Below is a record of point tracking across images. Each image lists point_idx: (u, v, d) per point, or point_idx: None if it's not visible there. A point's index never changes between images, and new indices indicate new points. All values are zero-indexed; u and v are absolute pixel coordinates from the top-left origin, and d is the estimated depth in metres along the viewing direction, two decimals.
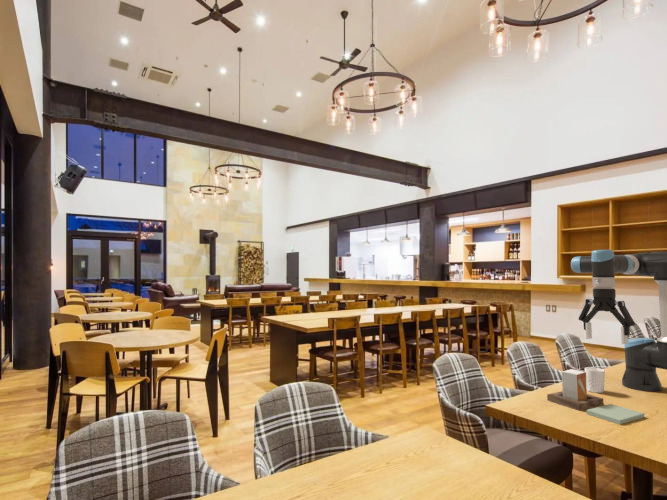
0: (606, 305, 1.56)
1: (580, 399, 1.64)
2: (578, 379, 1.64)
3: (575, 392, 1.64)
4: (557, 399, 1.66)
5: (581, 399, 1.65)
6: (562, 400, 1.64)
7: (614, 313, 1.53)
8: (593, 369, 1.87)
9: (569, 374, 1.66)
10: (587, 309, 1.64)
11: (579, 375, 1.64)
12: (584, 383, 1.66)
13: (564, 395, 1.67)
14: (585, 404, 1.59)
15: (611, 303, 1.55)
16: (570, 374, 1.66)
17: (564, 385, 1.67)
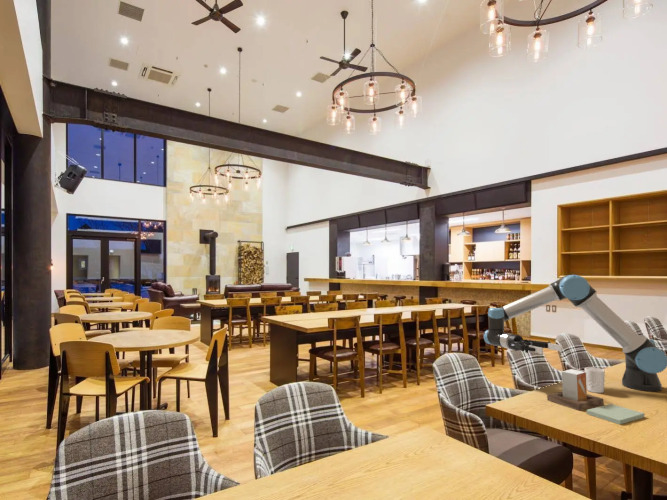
0: None
1: (580, 399, 1.64)
2: (578, 379, 1.64)
3: (575, 392, 1.64)
4: (557, 399, 1.66)
5: (581, 399, 1.65)
6: (562, 400, 1.64)
7: None
8: (593, 369, 1.87)
9: (569, 374, 1.66)
10: None
11: (579, 375, 1.64)
12: (584, 383, 1.66)
13: (564, 395, 1.67)
14: (585, 404, 1.59)
15: None
16: (570, 374, 1.66)
17: (564, 385, 1.67)
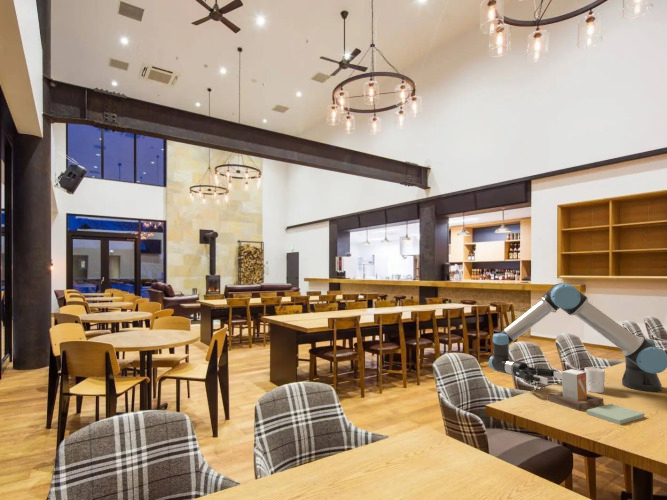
0: None
1: (580, 399, 1.64)
2: (578, 379, 1.64)
3: (575, 392, 1.64)
4: (557, 399, 1.66)
5: (581, 399, 1.65)
6: (562, 400, 1.64)
7: None
8: (593, 369, 1.87)
9: (569, 374, 1.66)
10: None
11: (579, 375, 1.64)
12: (584, 383, 1.66)
13: (564, 395, 1.67)
14: (585, 404, 1.59)
15: None
16: (570, 374, 1.66)
17: (564, 385, 1.67)
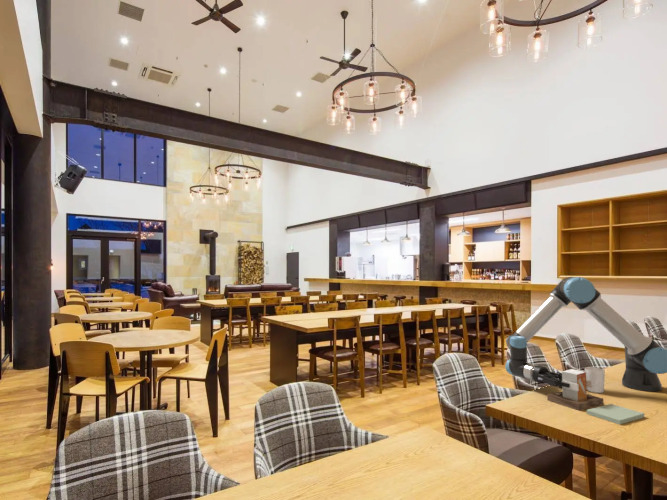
0: None
1: (580, 399, 1.64)
2: (578, 379, 1.64)
3: (575, 391, 1.64)
4: (557, 399, 1.66)
5: (581, 399, 1.65)
6: (562, 400, 1.64)
7: None
8: (593, 369, 1.87)
9: (569, 374, 1.66)
10: None
11: (579, 375, 1.64)
12: (584, 383, 1.66)
13: (564, 395, 1.67)
14: (585, 404, 1.59)
15: None
16: (570, 374, 1.66)
17: None
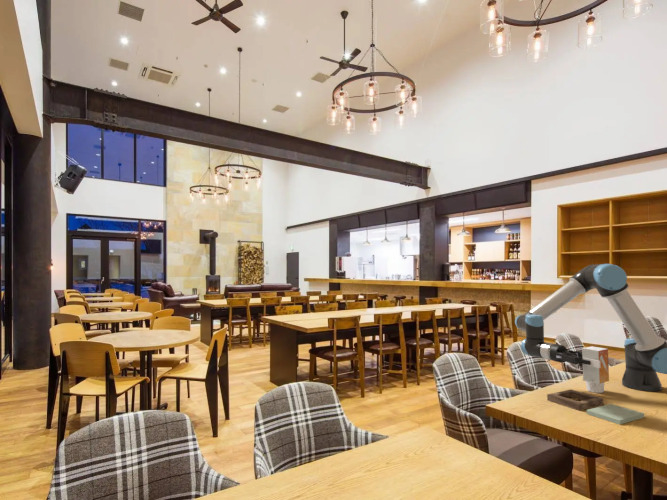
0: None
1: (602, 377, 1.55)
2: (600, 355, 1.55)
3: (596, 369, 1.55)
4: (557, 399, 1.66)
5: (603, 377, 1.55)
6: (562, 400, 1.64)
7: None
8: None
9: (590, 351, 1.57)
10: None
11: (601, 352, 1.55)
12: (606, 360, 1.57)
13: (584, 373, 1.58)
14: (585, 404, 1.59)
15: None
16: (591, 351, 1.56)
17: None
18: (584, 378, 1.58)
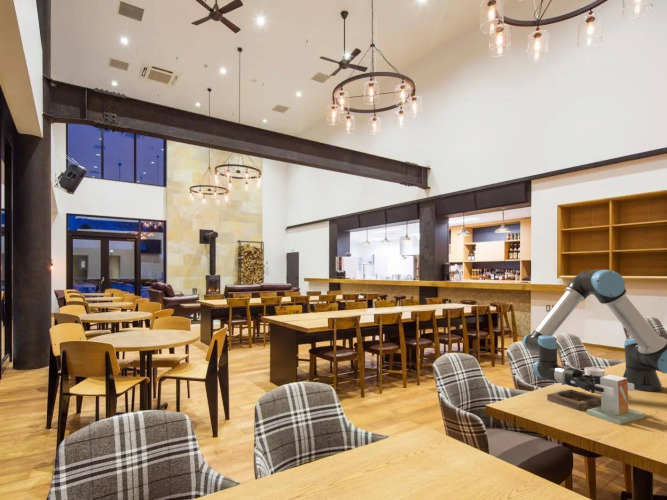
0: None
1: (621, 408, 1.49)
2: (619, 386, 1.49)
3: (615, 400, 1.49)
4: (557, 399, 1.66)
5: (622, 408, 1.49)
6: (562, 400, 1.64)
7: None
8: (593, 369, 1.87)
9: (609, 380, 1.51)
10: None
11: (620, 382, 1.49)
12: (625, 390, 1.51)
13: (603, 403, 1.52)
14: (585, 404, 1.59)
15: None
16: (610, 380, 1.51)
17: None
18: (602, 408, 1.52)
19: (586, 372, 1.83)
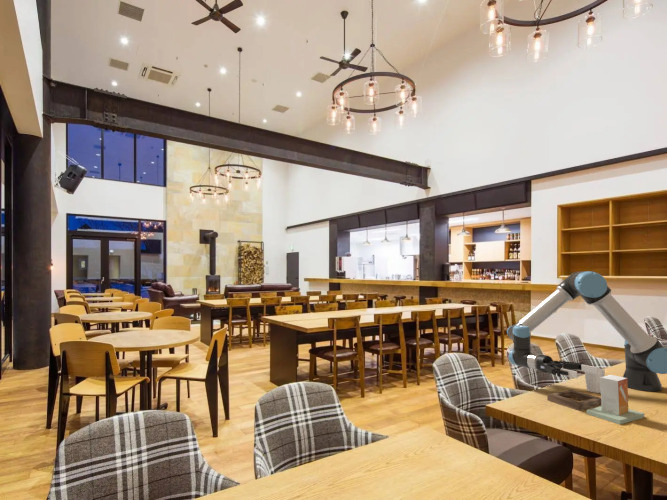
0: None
1: (621, 408, 1.49)
2: (619, 386, 1.49)
3: (615, 400, 1.49)
4: (557, 399, 1.66)
5: (622, 408, 1.49)
6: (562, 400, 1.64)
7: None
8: None
9: (609, 380, 1.51)
10: None
11: (620, 382, 1.49)
12: (625, 390, 1.51)
13: (603, 403, 1.52)
14: (585, 404, 1.59)
15: None
16: (610, 380, 1.51)
17: (603, 392, 1.52)
18: (602, 408, 1.52)
19: (586, 372, 1.83)
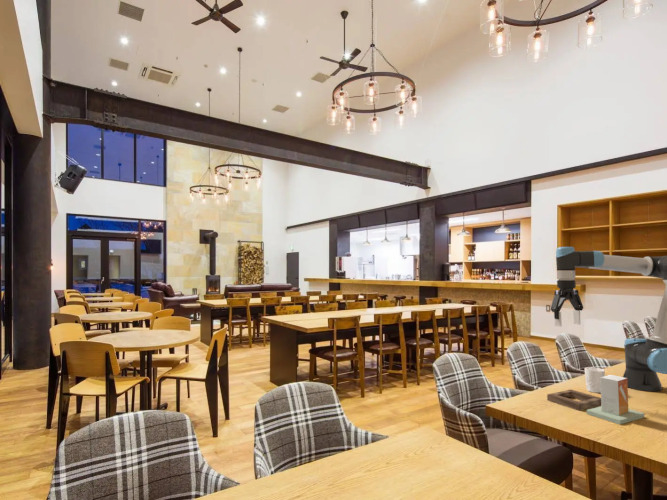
0: None
1: (621, 408, 1.49)
2: (619, 386, 1.49)
3: (615, 400, 1.49)
4: (557, 399, 1.66)
5: (622, 408, 1.49)
6: (562, 400, 1.64)
7: None
8: (593, 369, 1.87)
9: (609, 380, 1.51)
10: (575, 298, 1.87)
11: (620, 382, 1.49)
12: (625, 390, 1.51)
13: (603, 403, 1.52)
14: (585, 404, 1.59)
15: None
16: (610, 380, 1.51)
17: (603, 392, 1.52)
18: (602, 408, 1.52)
19: (586, 372, 1.83)
